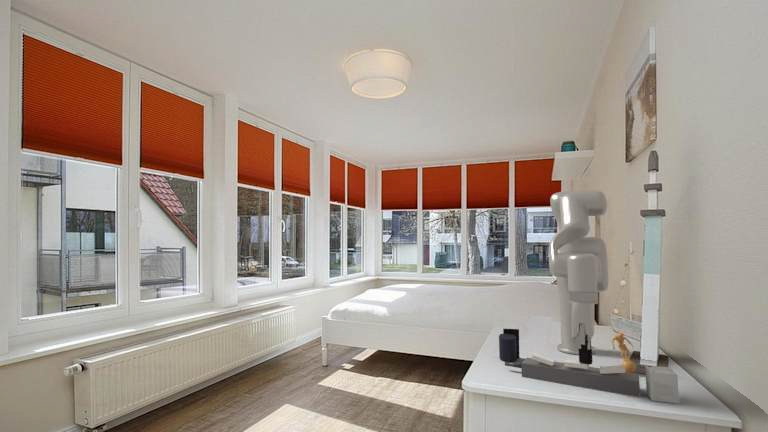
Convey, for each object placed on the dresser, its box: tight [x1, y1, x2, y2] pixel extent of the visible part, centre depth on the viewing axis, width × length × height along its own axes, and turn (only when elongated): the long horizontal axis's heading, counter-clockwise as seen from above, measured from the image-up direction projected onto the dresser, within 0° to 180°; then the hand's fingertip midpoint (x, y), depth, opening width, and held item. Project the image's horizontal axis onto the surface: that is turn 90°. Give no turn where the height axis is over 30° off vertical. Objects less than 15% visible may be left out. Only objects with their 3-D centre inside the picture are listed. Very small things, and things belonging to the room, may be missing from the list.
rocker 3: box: [599, 364, 626, 374], centre depth 109 cm, size 3×6×1 cm, turn 56°
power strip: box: [504, 357, 641, 398], centre depth 117 cm, size 7×36×4 cm, turn 56°
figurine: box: [611, 332, 637, 373], centre depth 124 cm, size 8×6×12 cm
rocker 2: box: [563, 359, 590, 369], centre depth 114 cm, size 3×6×1 cm, turn 56°
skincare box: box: [644, 365, 680, 404], centre depth 103 cm, size 6×6×7 cm
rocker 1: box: [531, 352, 556, 366], centre depth 119 cm, size 3×6×1 cm, turn 56°
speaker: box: [498, 328, 520, 363], centre depth 138 cm, size 8×6×10 cm
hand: (585, 362), depth 113 cm, fingers closed
